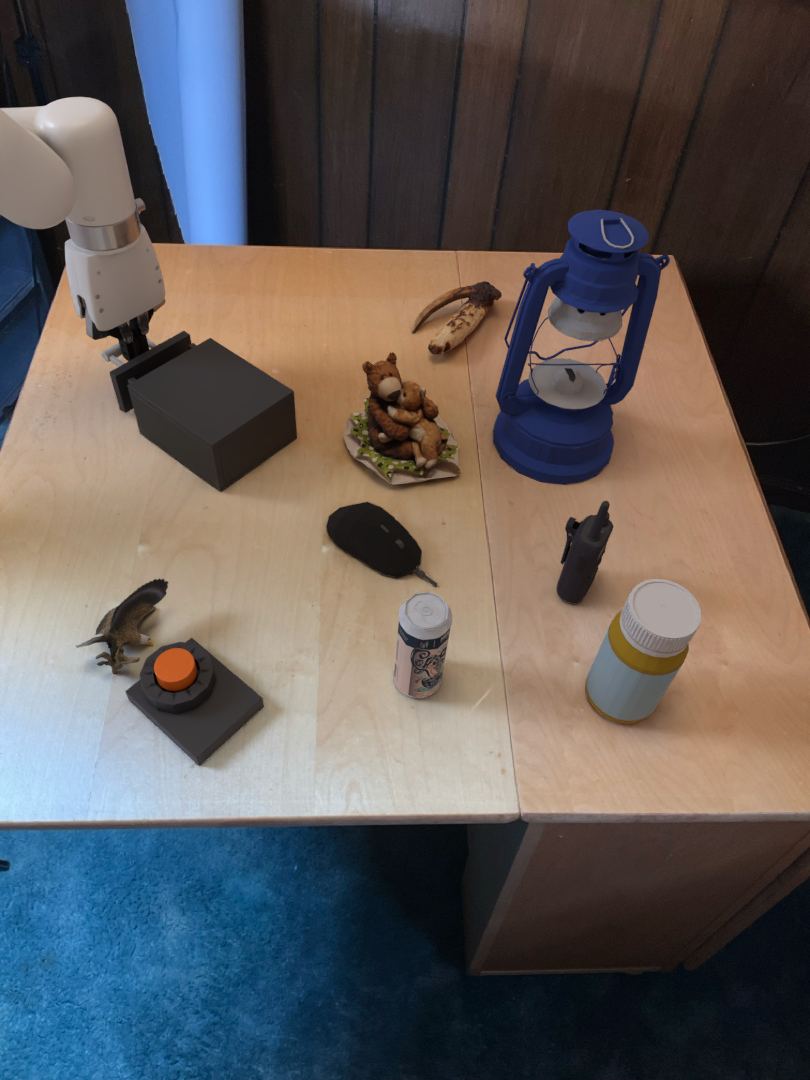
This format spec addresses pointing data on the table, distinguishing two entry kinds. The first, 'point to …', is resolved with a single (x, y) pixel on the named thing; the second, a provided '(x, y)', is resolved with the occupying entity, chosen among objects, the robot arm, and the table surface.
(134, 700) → the control block
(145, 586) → the eagle figurine
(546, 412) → the lantern
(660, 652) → the bottle
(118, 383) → the open drawer
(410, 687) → the beer can
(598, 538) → the two-way radio
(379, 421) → the bear figurine
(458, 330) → the lashed bone hook
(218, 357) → the black drawer box
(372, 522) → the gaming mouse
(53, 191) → the robot arm
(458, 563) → the table surface
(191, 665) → the button
